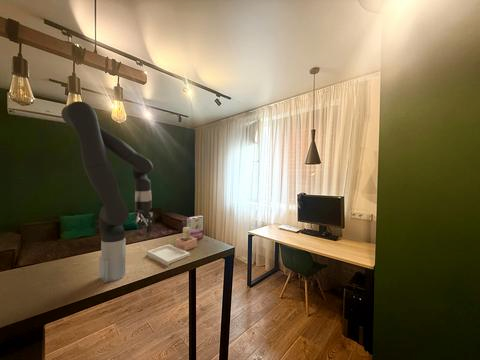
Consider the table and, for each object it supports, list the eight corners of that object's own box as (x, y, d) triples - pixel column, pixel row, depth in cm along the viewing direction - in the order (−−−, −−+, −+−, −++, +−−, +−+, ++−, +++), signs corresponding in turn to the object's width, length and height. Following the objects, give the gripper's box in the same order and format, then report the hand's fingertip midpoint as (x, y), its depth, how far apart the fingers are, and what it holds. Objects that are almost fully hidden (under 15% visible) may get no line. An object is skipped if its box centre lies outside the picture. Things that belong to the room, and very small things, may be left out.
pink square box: (184, 252, 117) (185, 242, 117) (175, 248, 122) (175, 238, 122) (196, 247, 124) (197, 238, 124) (187, 244, 130) (187, 235, 130)
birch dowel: (185, 248, 120) (186, 229, 120) (181, 246, 123) (181, 227, 122) (191, 246, 124) (191, 227, 123) (186, 244, 126) (187, 226, 126)
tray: (167, 266, 99) (167, 261, 99) (147, 255, 111) (147, 250, 111) (189, 257, 111) (189, 252, 110) (168, 248, 122) (169, 244, 122)
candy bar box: (199, 237, 145) (200, 215, 144) (203, 238, 141) (204, 216, 141) (186, 240, 137) (186, 217, 137) (189, 242, 134) (190, 218, 133)
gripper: (128, 199, 99) (129, 230, 100) (144, 202, 91) (144, 236, 92) (142, 197, 105) (143, 226, 106) (158, 200, 97) (159, 231, 98)
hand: (144, 231), depth 99 cm, fingers open, 8 cm apart
